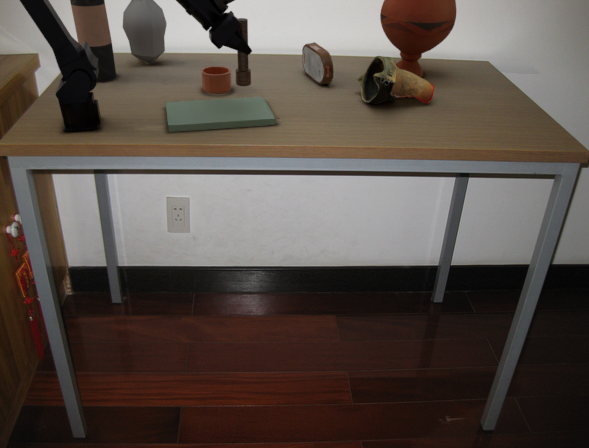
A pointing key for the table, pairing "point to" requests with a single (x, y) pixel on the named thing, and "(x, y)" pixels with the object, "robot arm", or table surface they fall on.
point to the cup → (216, 79)
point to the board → (218, 114)
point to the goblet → (416, 27)
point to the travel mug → (95, 34)
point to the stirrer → (243, 58)
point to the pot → (392, 83)
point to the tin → (317, 63)
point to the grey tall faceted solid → (145, 29)
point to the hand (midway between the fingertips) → (249, 51)
